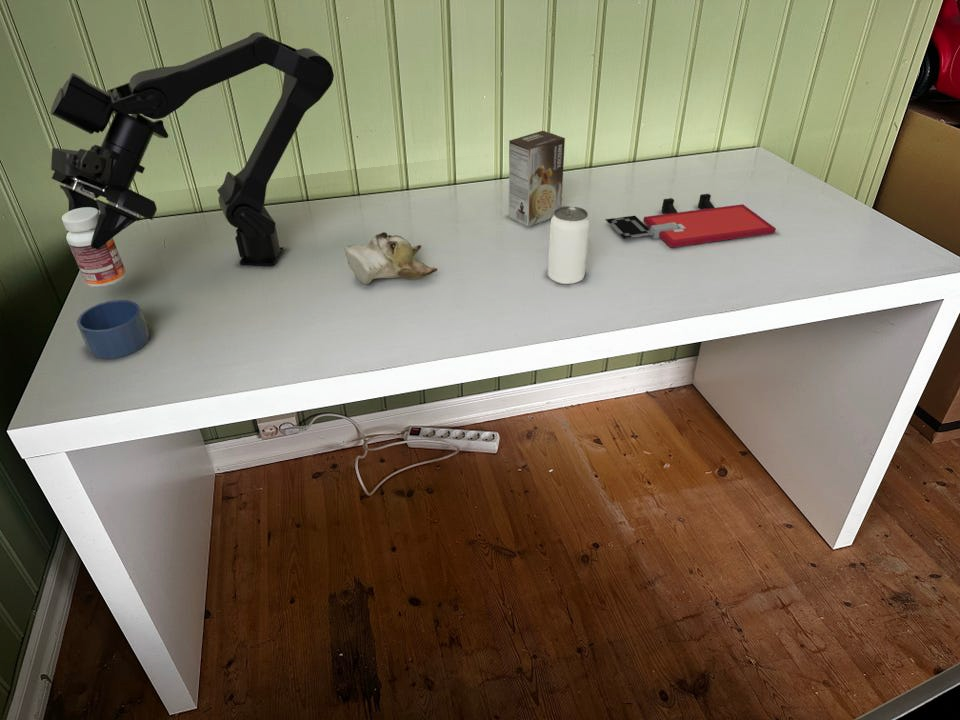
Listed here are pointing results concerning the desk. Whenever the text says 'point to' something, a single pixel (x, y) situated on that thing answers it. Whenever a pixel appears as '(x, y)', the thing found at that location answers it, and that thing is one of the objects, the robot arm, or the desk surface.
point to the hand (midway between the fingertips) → (82, 242)
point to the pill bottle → (92, 249)
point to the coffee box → (535, 177)
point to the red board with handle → (694, 224)
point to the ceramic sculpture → (385, 259)
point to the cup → (113, 329)
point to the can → (568, 245)
